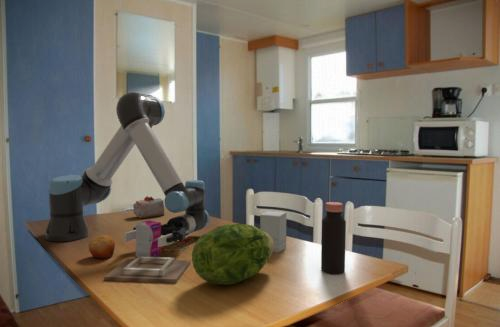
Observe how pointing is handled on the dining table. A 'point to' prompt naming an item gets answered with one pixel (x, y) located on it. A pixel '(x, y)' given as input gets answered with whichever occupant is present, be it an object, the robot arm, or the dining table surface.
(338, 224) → the bottle
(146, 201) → the food item
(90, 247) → the fruit
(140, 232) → the supplement box
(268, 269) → the dining table surface
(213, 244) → the lettuce
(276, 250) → the supplement box
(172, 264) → the socket board
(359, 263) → the dining table surface
